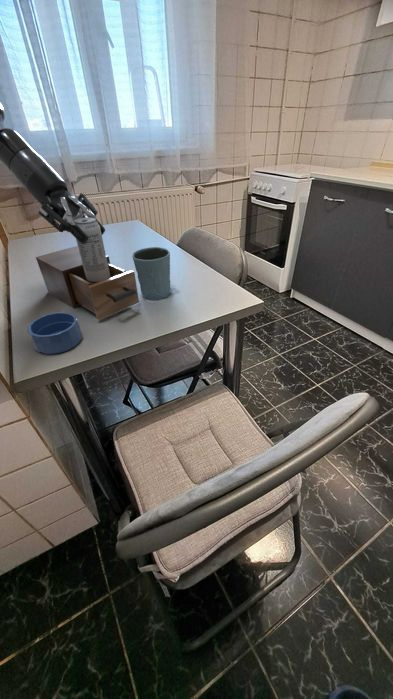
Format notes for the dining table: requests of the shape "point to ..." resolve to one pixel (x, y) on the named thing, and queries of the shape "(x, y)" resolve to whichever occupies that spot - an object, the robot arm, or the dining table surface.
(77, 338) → the bowl
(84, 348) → the dining table surface
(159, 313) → the dining table surface
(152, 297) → the blue ceramic cup
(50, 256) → the cabinet
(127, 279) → the drawer
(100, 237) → the energy drink can
